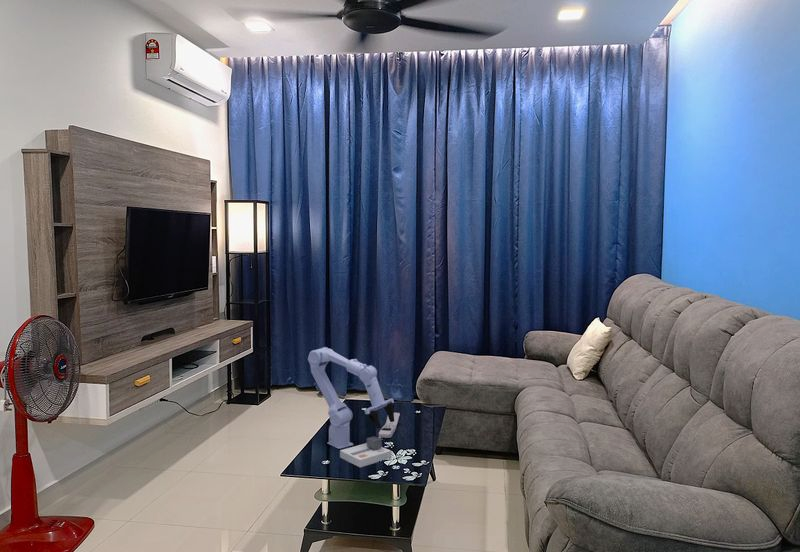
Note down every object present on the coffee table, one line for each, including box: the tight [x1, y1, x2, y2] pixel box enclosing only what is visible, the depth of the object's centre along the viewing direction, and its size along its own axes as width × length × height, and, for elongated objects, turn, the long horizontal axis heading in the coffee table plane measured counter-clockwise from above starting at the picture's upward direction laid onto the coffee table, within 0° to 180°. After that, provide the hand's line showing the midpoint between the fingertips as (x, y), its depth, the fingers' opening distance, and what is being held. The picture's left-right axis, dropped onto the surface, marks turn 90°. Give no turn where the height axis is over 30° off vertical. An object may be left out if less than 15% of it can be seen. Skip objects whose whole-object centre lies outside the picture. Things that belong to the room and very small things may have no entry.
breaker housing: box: [339, 442, 392, 468], centre depth 240 cm, size 16×14×3 cm
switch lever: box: [366, 436, 383, 450], centre depth 243 cm, size 4×5×4 cm
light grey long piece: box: [378, 412, 400, 439], centre depth 273 cm, size 6×6×25 cm
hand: (385, 424), depth 244 cm, fingers open, 7 cm apart
